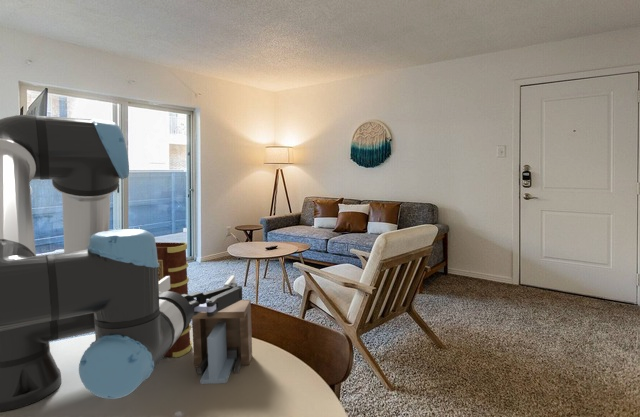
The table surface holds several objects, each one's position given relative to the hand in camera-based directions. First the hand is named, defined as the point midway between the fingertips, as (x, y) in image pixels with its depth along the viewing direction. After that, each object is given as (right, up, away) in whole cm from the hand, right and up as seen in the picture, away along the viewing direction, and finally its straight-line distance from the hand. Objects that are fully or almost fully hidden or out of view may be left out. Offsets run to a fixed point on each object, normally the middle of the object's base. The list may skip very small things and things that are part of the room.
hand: (200, 281), depth 80 cm
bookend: (0, -25, +14) cm, 29 cm away
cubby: (0, -25, +18) cm, 30 cm away
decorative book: (-22, -25, +27) cm, 43 cm away
